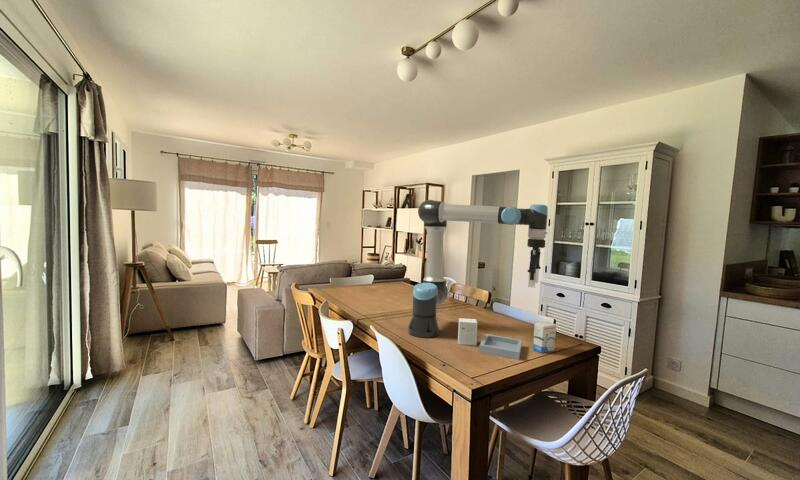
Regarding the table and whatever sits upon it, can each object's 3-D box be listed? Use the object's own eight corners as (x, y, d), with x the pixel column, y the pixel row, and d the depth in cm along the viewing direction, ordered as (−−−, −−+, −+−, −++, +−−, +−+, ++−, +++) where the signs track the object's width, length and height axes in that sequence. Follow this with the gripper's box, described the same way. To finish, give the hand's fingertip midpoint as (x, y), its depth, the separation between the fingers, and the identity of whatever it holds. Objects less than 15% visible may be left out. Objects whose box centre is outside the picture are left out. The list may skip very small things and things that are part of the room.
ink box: (541, 353, 144) (543, 326, 144) (532, 349, 149) (534, 323, 148) (555, 350, 148) (557, 324, 148) (545, 346, 153) (547, 321, 152)
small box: (475, 341, 155) (476, 318, 155) (476, 345, 150) (478, 322, 149) (457, 340, 156) (458, 317, 156) (458, 344, 151) (459, 321, 150)
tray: (479, 351, 143) (479, 345, 143) (485, 340, 158) (486, 333, 157) (518, 359, 137) (519, 352, 136) (521, 346, 151) (522, 340, 151)
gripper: (543, 240, 141) (539, 290, 142) (547, 238, 163) (544, 281, 165) (524, 239, 144) (520, 288, 146) (531, 237, 167) (528, 279, 168)
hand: (533, 284), depth 155 cm, fingers open, 13 cm apart
